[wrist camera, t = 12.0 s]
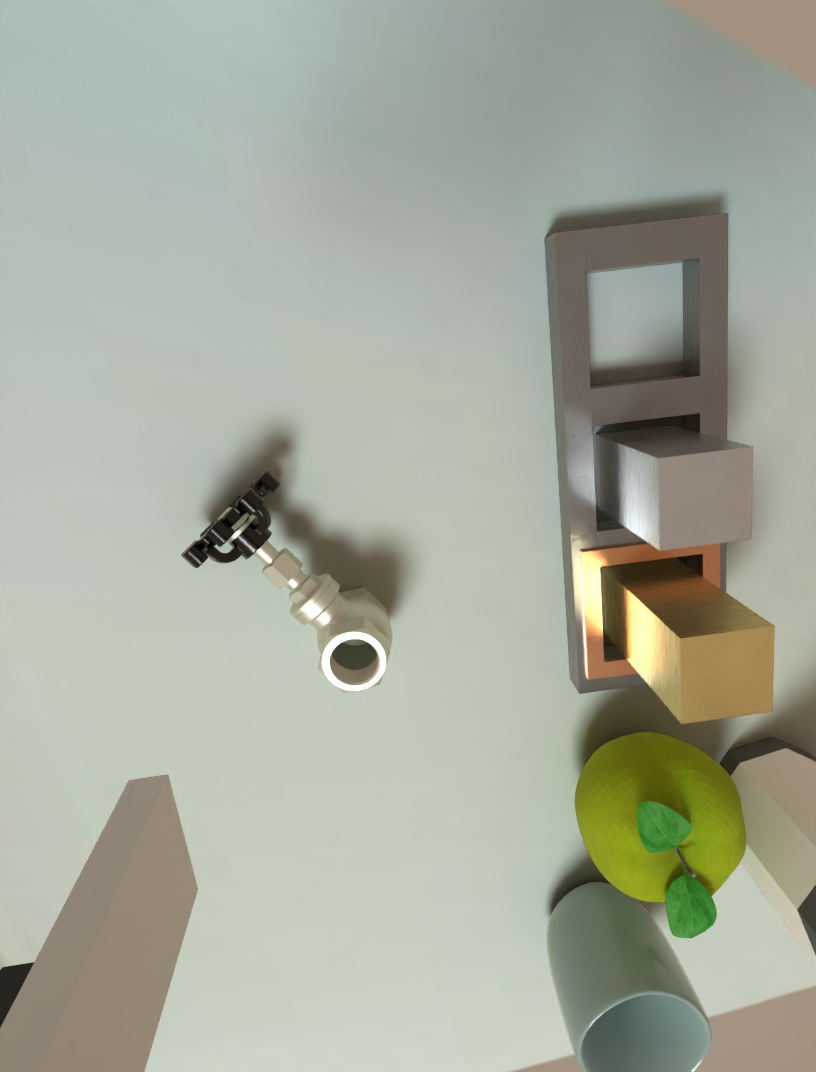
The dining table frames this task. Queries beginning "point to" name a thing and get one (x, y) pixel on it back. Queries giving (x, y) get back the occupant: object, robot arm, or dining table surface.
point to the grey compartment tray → (628, 410)
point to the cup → (622, 986)
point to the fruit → (662, 824)
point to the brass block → (689, 640)
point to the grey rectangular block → (676, 486)
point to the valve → (305, 592)
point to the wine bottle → (780, 829)
